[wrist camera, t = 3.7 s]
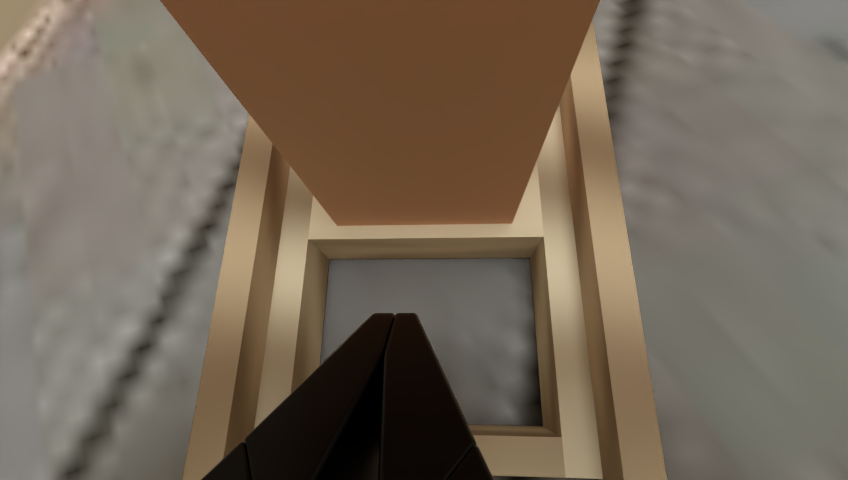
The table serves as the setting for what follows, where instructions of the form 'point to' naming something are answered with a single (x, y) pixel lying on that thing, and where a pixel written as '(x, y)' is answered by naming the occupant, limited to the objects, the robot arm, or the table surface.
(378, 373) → the robot arm
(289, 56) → the terracotta block
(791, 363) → the table surface
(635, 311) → the wooden compartment tray
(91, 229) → the table surface
